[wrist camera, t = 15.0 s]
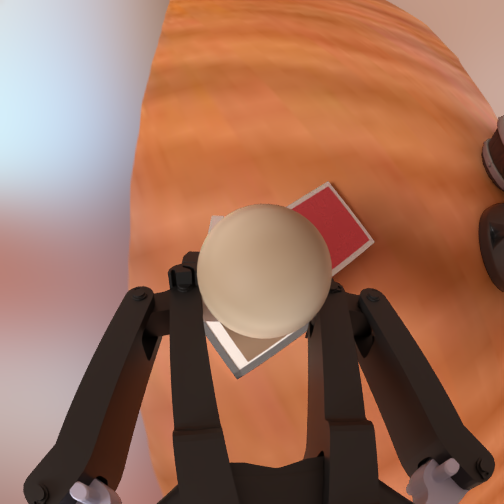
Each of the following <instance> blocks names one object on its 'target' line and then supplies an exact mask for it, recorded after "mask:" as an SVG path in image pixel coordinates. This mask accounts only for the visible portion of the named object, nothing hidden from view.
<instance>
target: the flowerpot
mask: <svg viewBox="0 0 504 504" xmlns="http://www.w3.org/2000/svg"><path fill="white" fill-rule="evenodd" d="M498 119H499V120H498V122H497V127H498V128H497V130H496V131H495V133H494V135H493V136H492V138H491V139H487V140H486V141H485V142H484V145H483V152H482V158H483V164H484V167H485V168H486V172H487V174H488V175H489V177H490V178H491V179H492V180H493V183H494V184H495V185H496V186H497V187H498V188H499V189H501V190H503V191H504V115H503V116H501V117H499V118H498Z"/></svg>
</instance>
